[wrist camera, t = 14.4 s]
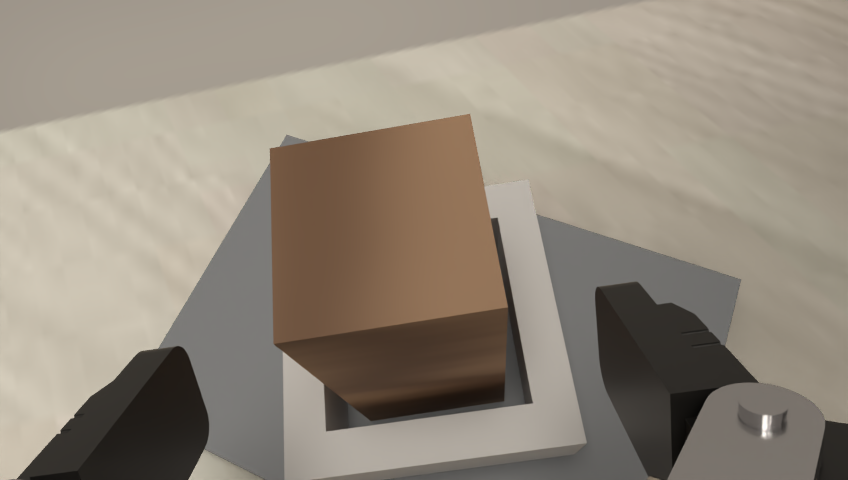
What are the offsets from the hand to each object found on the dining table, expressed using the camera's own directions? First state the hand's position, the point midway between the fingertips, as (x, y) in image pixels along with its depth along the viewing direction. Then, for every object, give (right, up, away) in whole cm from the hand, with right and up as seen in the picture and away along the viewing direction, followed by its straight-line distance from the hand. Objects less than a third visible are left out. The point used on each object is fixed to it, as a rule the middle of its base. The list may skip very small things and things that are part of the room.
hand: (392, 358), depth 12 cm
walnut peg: (+1, -1, +9) cm, 9 cm away
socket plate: (+1, -2, +10) cm, 10 cm away
